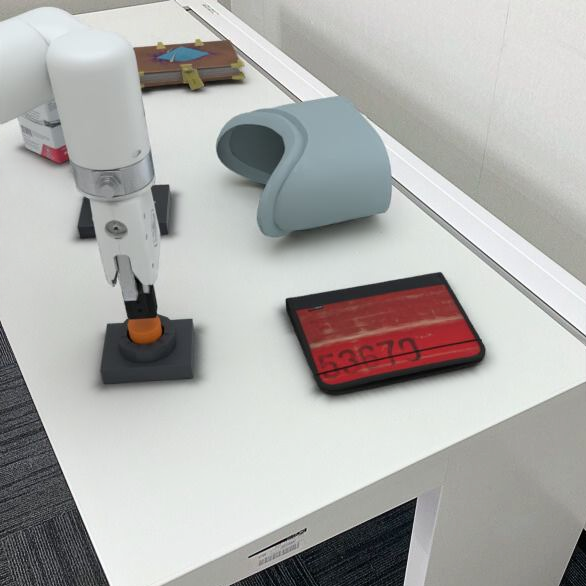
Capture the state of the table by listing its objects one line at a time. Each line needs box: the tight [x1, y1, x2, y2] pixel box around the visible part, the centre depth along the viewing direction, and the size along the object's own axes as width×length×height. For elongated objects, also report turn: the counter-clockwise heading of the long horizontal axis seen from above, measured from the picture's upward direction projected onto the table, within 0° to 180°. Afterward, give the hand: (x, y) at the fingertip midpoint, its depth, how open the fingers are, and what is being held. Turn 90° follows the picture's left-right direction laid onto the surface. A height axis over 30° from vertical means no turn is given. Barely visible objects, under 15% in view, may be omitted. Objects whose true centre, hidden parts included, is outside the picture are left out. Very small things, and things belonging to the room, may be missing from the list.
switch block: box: [99, 313, 195, 385], centre depth 92 cm, size 10×8×4 cm
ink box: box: [16, 100, 70, 164], centre depth 123 cm, size 8×5×12 cm, turn 55°
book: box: [132, 38, 246, 91], centre depth 147 cm, size 16×25×5 cm, turn 105°
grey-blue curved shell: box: [215, 94, 393, 239], centre depth 113 cm, size 22×19×13 cm
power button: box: [128, 316, 162, 344], centre depth 90 cm, size 4×4×2 cm
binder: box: [284, 271, 487, 395], centre depth 96 cm, size 16×2×21 cm
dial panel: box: [76, 183, 172, 239], centre depth 113 cm, size 12×10×2 cm
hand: (143, 314), depth 88 cm, fingers closed
